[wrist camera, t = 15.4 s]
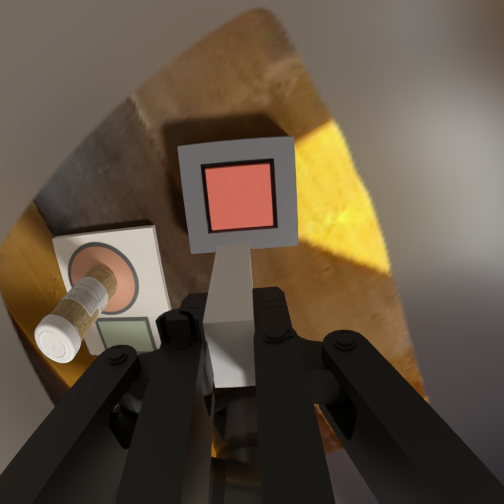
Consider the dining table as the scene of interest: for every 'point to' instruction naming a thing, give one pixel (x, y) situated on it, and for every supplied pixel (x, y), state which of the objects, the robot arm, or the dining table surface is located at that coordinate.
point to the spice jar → (75, 315)
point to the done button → (239, 195)
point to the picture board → (119, 284)
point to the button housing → (231, 152)
